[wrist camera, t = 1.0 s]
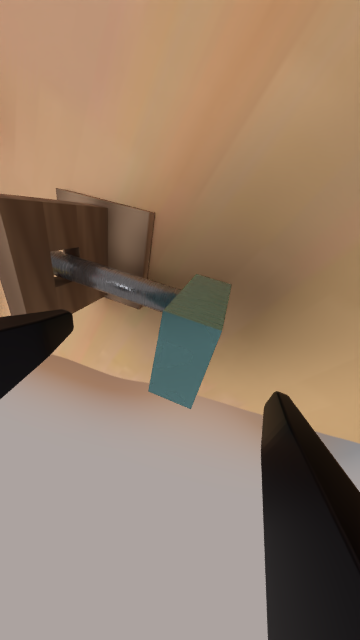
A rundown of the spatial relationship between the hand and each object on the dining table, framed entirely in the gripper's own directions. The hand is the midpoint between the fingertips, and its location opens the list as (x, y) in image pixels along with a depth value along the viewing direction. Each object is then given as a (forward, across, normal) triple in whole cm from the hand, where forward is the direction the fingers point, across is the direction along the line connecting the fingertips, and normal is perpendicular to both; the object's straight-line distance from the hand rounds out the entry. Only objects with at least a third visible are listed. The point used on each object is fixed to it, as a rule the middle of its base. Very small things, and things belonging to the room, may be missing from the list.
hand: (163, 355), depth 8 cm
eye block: (+13, +12, +1) cm, 18 cm away
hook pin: (+8, +7, +1) cm, 11 cm away
